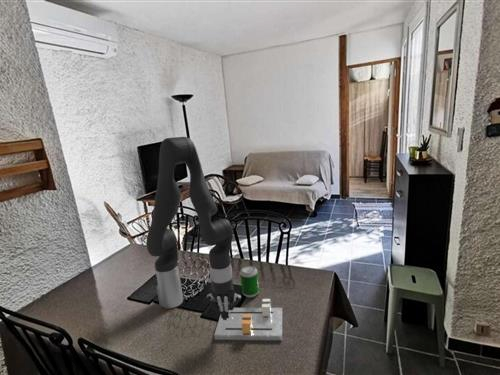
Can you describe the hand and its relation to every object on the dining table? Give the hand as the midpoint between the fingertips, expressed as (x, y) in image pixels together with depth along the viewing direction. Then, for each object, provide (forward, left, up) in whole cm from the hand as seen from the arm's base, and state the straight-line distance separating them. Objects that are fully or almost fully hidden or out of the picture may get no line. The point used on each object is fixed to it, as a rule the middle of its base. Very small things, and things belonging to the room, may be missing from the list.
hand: (225, 318), depth 106 cm
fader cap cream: (+14, +9, -4) cm, 17 cm away
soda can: (+6, +24, -7) cm, 26 cm away
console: (+8, +4, -6) cm, 11 cm away
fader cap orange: (+8, 0, -4) cm, 9 cm away
